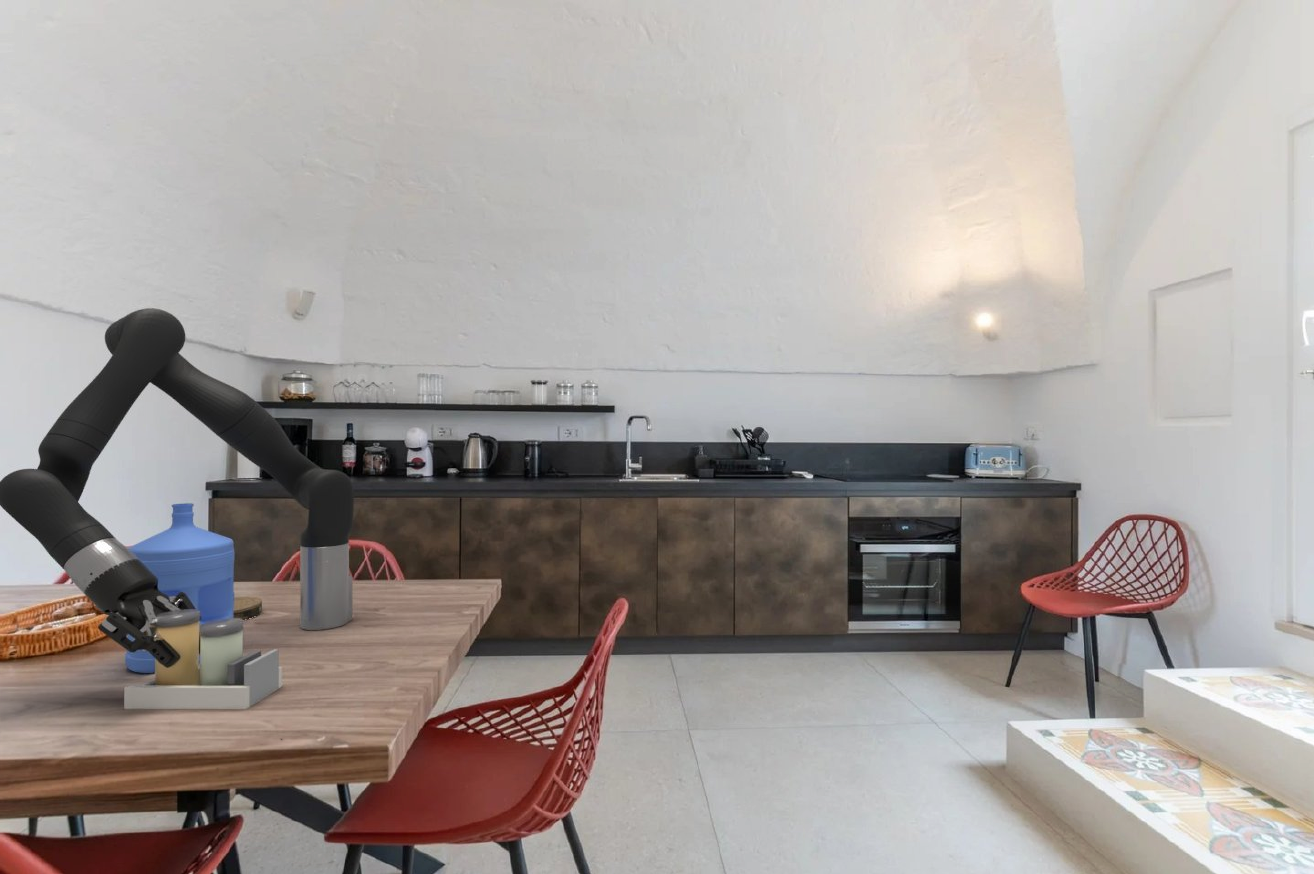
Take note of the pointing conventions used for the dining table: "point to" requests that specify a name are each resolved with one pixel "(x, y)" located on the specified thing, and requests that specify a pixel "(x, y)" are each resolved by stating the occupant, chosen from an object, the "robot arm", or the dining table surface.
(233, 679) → the block
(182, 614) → the honey jar
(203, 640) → the sage jar
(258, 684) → the jar lane
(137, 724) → the dining table surface
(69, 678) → the dining table surface
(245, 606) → the brown round flat disc
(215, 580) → the water jug
